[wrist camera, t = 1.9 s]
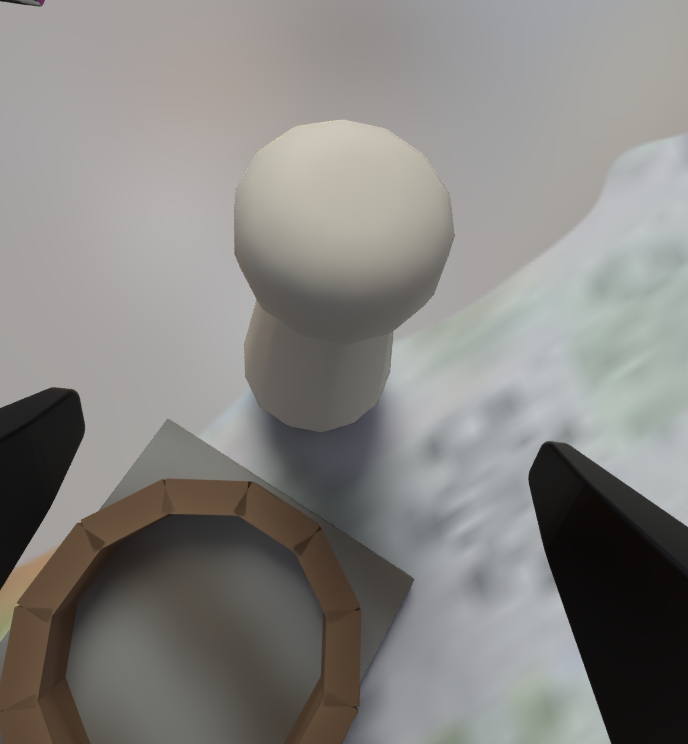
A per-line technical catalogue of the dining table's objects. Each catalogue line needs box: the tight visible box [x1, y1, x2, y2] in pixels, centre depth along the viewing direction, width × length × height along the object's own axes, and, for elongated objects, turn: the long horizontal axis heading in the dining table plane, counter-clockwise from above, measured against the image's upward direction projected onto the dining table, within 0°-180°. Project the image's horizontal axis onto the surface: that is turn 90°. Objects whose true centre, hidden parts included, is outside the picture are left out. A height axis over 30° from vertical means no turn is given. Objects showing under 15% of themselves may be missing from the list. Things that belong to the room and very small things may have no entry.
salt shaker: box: [234, 120, 455, 433], centre depth 14 cm, size 6×6×13 cm
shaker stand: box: [0, 419, 414, 744], centre depth 16 cm, size 12×12×3 cm
